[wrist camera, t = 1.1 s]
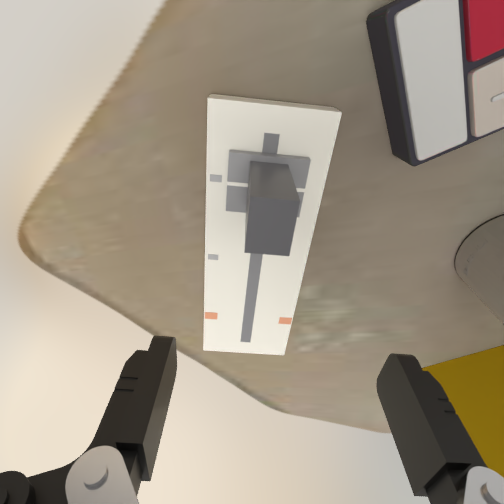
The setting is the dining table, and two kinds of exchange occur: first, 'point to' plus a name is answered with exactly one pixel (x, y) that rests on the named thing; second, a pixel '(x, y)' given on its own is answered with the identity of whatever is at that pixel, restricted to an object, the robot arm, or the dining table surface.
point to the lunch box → (478, 399)
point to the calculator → (439, 73)
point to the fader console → (233, 223)
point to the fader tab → (267, 197)
